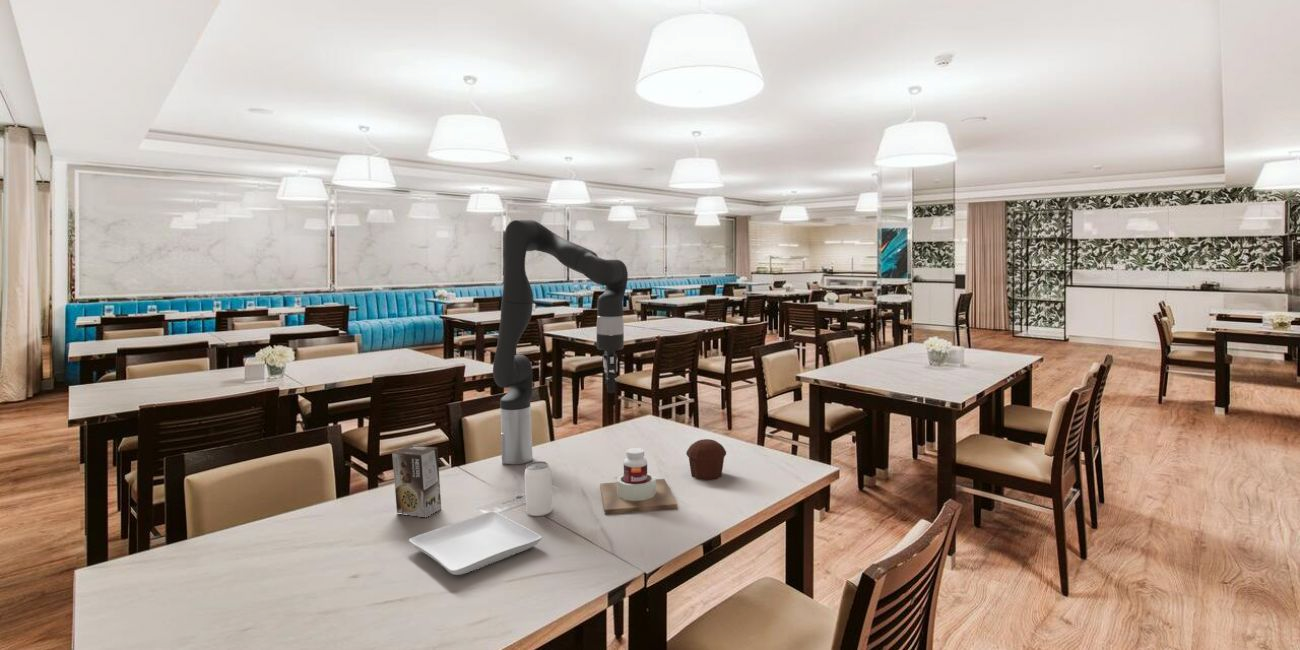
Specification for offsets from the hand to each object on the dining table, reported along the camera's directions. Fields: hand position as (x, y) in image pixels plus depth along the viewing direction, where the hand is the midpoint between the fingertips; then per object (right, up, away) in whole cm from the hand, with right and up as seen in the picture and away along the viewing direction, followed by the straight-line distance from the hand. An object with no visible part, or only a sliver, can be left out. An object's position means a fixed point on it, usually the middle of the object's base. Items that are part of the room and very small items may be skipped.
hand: (610, 389), depth 169 cm
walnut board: (+8, -27, -11) cm, 30 cm away
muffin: (+28, -25, +5) cm, 38 cm away
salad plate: (-27, -31, -39) cm, 56 cm away
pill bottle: (+8, -26, -12) cm, 29 cm away
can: (-16, -29, -19) cm, 38 cm away
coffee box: (-47, -29, -17) cm, 58 cm away
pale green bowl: (+8, -26, -11) cm, 29 cm away
